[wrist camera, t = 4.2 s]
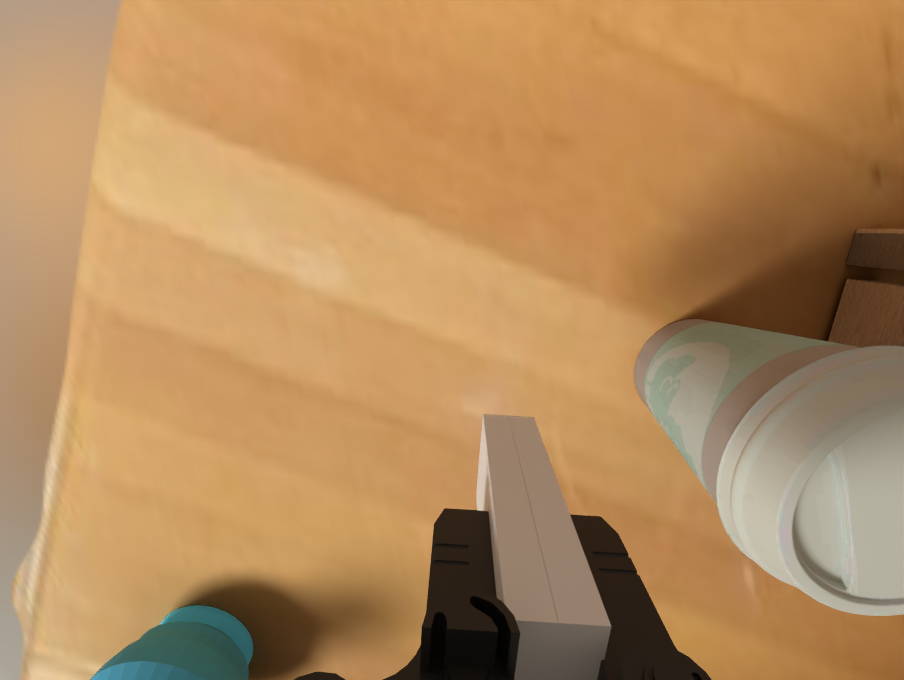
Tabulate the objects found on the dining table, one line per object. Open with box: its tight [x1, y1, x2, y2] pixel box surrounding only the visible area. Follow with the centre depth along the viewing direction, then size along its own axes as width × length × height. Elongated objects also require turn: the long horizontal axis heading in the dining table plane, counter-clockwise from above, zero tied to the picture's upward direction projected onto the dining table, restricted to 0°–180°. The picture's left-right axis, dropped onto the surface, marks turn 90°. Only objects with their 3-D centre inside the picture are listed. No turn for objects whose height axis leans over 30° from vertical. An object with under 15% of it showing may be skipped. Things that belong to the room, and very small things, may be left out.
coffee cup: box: [634, 319, 904, 616], centre depth 17 cm, size 9×9×12 cm
